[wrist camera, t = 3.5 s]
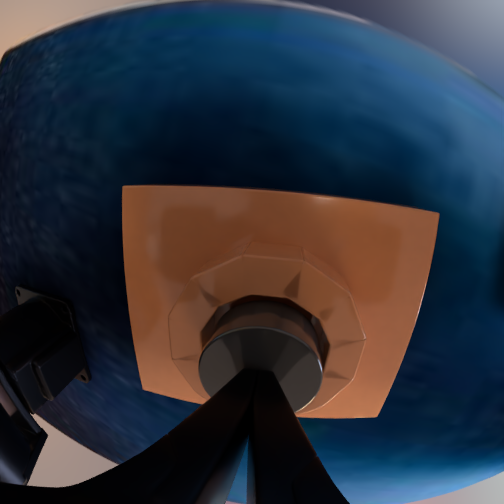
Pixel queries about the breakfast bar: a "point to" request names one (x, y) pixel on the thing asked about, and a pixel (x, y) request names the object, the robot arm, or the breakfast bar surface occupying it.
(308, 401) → the lid button
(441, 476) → the breakfast bar surface
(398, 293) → the button base
